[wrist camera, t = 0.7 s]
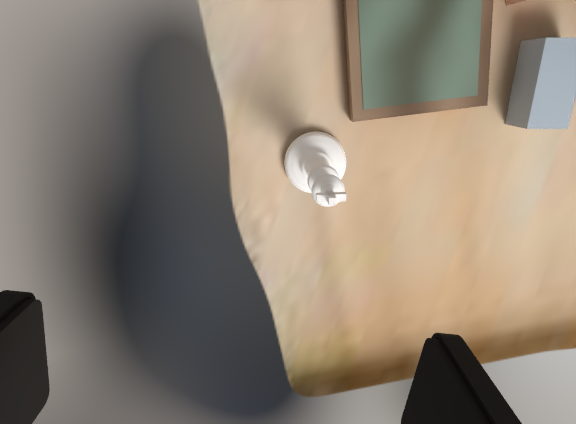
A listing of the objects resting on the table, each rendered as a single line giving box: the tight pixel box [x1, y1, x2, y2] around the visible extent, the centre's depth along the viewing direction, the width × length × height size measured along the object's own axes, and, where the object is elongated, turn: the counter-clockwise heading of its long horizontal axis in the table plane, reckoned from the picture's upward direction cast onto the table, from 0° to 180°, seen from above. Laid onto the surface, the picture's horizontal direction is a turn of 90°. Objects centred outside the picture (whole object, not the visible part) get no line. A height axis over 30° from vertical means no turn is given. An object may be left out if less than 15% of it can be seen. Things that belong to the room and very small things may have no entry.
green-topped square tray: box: [343, 0, 493, 122], centre depth 28 cm, size 10×10×1 cm
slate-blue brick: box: [505, 37, 576, 129], centre depth 28 cm, size 6×3×3 cm, turn 0°
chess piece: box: [284, 132, 346, 207], centre depth 26 cm, size 5×5×10 cm
